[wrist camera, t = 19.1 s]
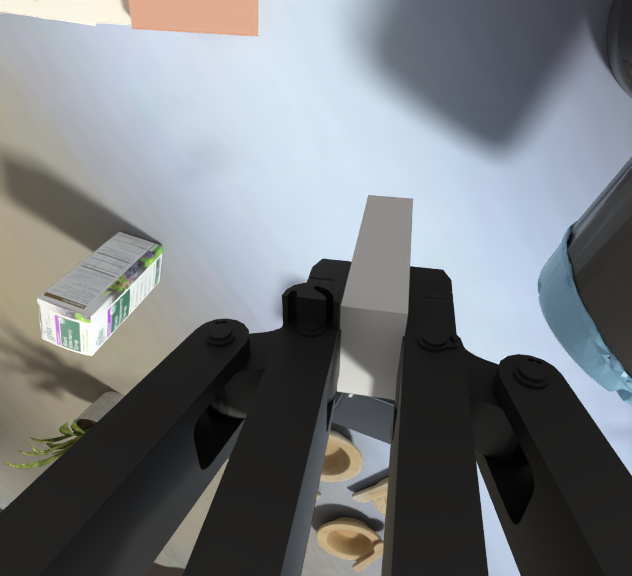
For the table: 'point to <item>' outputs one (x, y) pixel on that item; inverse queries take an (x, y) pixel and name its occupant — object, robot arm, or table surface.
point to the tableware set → (350, 533)
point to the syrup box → (99, 293)
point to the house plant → (74, 429)
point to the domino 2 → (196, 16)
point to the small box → (364, 414)
